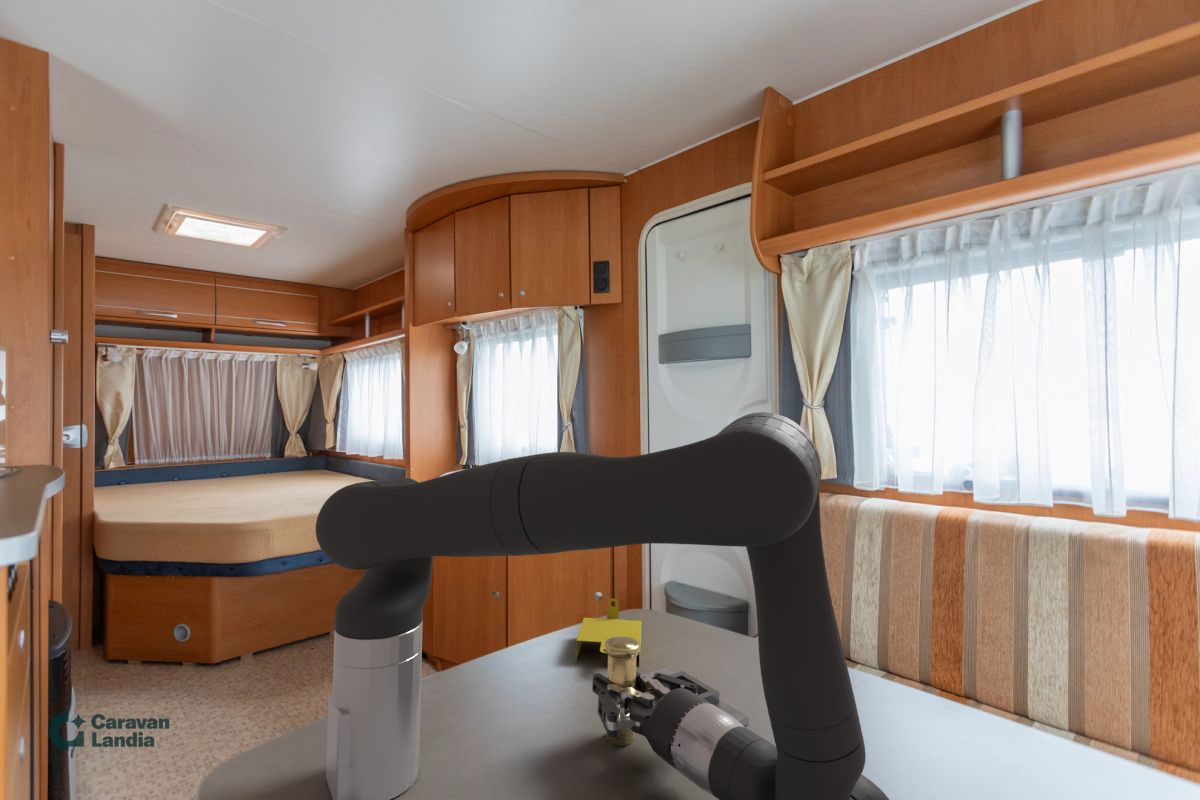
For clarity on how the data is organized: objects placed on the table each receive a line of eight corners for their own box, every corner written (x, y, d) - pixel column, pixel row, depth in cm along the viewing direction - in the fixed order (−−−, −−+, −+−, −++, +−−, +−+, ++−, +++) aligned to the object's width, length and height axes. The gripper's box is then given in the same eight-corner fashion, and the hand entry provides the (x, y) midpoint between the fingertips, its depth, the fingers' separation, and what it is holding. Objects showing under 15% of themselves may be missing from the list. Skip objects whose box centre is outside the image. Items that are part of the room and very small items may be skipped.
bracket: (557, 626, 92) (570, 595, 107) (556, 676, 92) (569, 638, 107) (656, 632, 90) (656, 600, 105) (655, 682, 90) (655, 643, 105)
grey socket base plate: (699, 745, 73) (699, 725, 73) (619, 688, 87) (619, 671, 87) (748, 724, 78) (748, 705, 78) (665, 674, 92) (665, 658, 92)
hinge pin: (616, 752, 71) (618, 653, 71) (596, 734, 75) (598, 640, 75) (644, 741, 73) (646, 645, 74) (623, 725, 77) (625, 634, 77)
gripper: (747, 688, 66) (650, 637, 80) (650, 724, 58) (562, 660, 72) (745, 755, 66) (649, 691, 80) (648, 800, 58) (561, 720, 72)
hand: (608, 677), depth 76 cm, fingers closed on hinge pin, 3 cm apart
